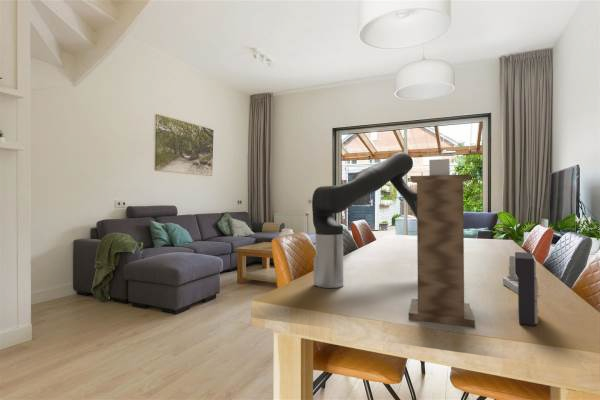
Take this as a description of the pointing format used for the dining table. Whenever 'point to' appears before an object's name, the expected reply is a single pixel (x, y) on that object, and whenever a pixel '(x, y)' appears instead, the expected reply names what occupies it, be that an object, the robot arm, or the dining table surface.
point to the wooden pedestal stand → (440, 251)
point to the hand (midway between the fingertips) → (438, 188)
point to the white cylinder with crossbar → (439, 167)
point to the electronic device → (511, 276)
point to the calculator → (527, 288)
